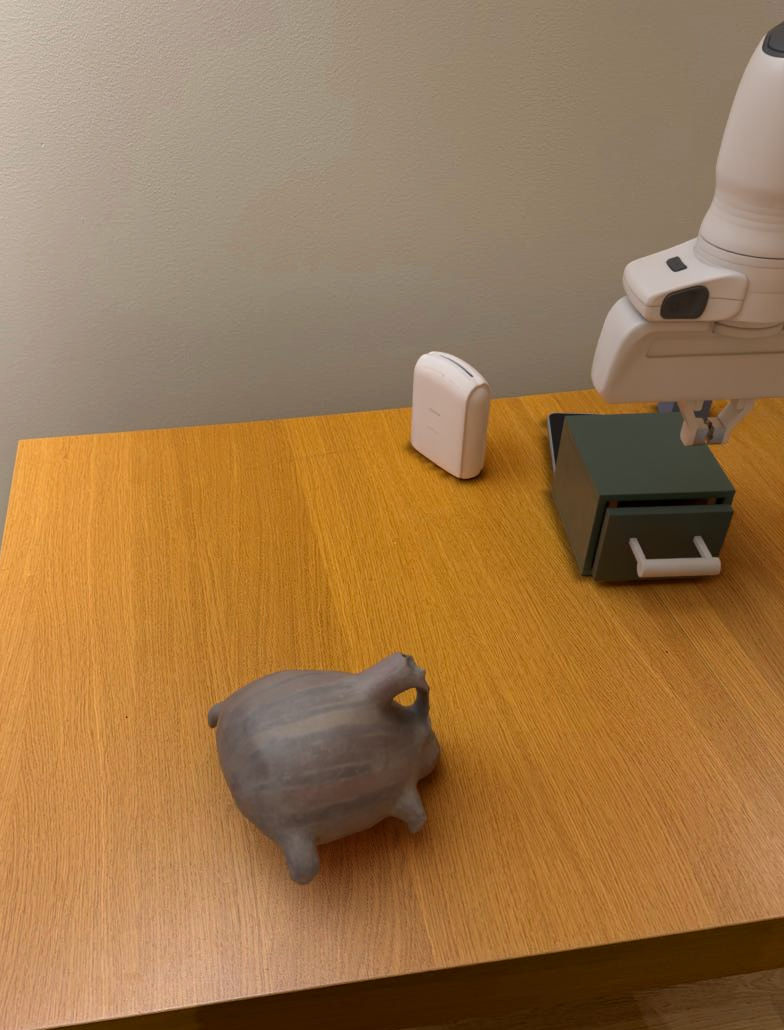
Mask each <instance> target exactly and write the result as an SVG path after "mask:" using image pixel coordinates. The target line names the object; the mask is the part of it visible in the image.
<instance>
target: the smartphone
mask: <svg viewBox="0 0 784 1030" xmlns="http://www.w3.org/2000/svg"><path fill="white" fill-rule="evenodd" d="M576 415H604V414H603V413H585V412H584V413H583V412H582V413H581V412H551V413H549V414H548V415H547V421H546V423H547V424H546V425H547V431H548V440H549V447H550V456H551V464H552V471H553V473H552V474H553V475H554V474H555V468H556V462H557V457H558V451H559V446H560V440H561V435H562V429H563V424H564V418H565V416H576Z"/></svg>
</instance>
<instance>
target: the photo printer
mask: <svg viewBox="0 0 784 1030" xmlns="http://www.w3.org/2000/svg"><path fill="white" fill-rule="evenodd" d="M412 384H413V385H412V402H411V404H412V405H411V427H410V443H411V446H412V447H413V448H414V449H415V450H416V451H418V452H419V453H420V454H421V455H423V456H424V457H425V458H427V459H428V460H429V461H431V462H432V463H434V464H435V465H437V466H438V467H439V468H441V469H443V470H444V471H445V472H447V473H449V474H450V475H452V476H454V477H456V478H457V479H461V480H466V479H471V478H475V477H477V476H478V475H479V474H480V473H481V470H482V469H483V468H484V465H485V459H486V458H485V457H486V447H487V440H488V439H487V438H488V430H489V429H488V428H489V419H490V412H491V411H490V410H491V409H490V408H491V399H492V389H491V386H490V384H489V383H488V382H487V380H486V379H485V377H483V375H482V374H481V373H480V372H479V371H478V370H477V369H476V368H474V367H473V366H472V365H471V364H470V363H468V362H466V361H465V360H463V359H461V358H459V357H457V356H455V355H453V354H451V353H447V352H443V351H430V352H428V353H424V354H422V355H421V356H420V357H419V358H418V360H417V361H416V364H415V366H414V370H413V382H412Z"/></svg>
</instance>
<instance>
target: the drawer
mask: <svg viewBox="0 0 784 1030" xmlns="http://www.w3.org/2000/svg"><path fill="white" fill-rule="evenodd" d="M716 499H717V498H699V499H669V500H639V501H610V502H606V505H605V509H604V514H603V518H602V522H601V527H600V531H599V535H598V540H597V544H596V548H595V552H594V559H595V560H594V565H593V569H592V573H591V574H592V575H591V576H592V579H593V582H609V581H635V580H636V581H639V580H642V581H643V580H665V579H666V580H669V579H670V580H671V579H698V578H699V579H700V578H712V577H713V576H718V575H719V574H720V573H721V570H722V562H721V559H720V554H721V551H722V549H723V545H724V543H725V540H726V537H727V534H728V531H729V528H730V525H731V523H732V521H733V517H734V514H735V510H734V508H733V506H732V504H731V505H730V504H719V505H715V502H716Z"/></svg>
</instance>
